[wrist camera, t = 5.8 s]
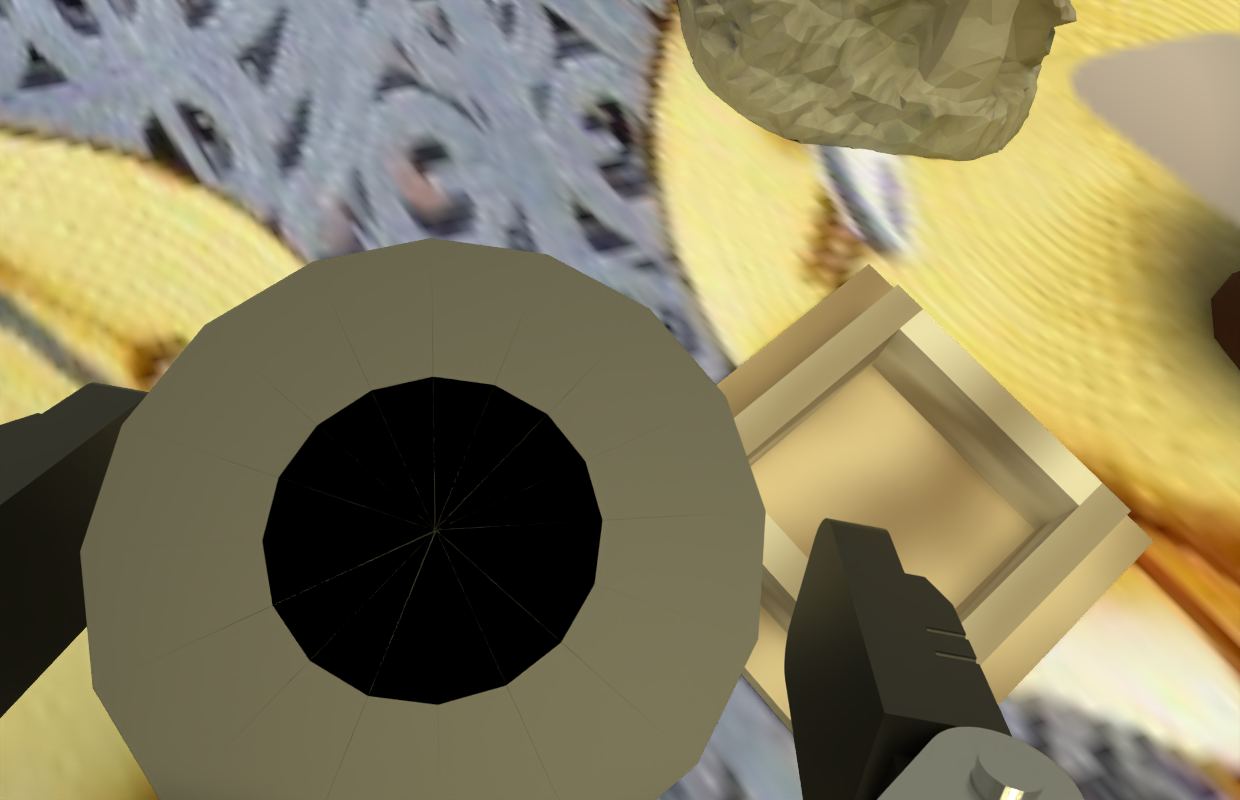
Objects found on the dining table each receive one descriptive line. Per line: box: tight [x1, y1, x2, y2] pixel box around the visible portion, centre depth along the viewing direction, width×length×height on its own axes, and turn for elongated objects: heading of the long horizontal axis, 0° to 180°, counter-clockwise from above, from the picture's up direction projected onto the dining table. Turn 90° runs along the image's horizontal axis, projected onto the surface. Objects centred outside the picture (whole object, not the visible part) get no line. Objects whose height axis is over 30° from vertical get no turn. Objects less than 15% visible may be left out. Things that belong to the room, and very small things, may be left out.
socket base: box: [716, 264, 1153, 734], centre depth 33 cm, size 14×14×4 cm
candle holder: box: [80, 238, 766, 800], centre depth 20 cm, size 6×6×25 cm
